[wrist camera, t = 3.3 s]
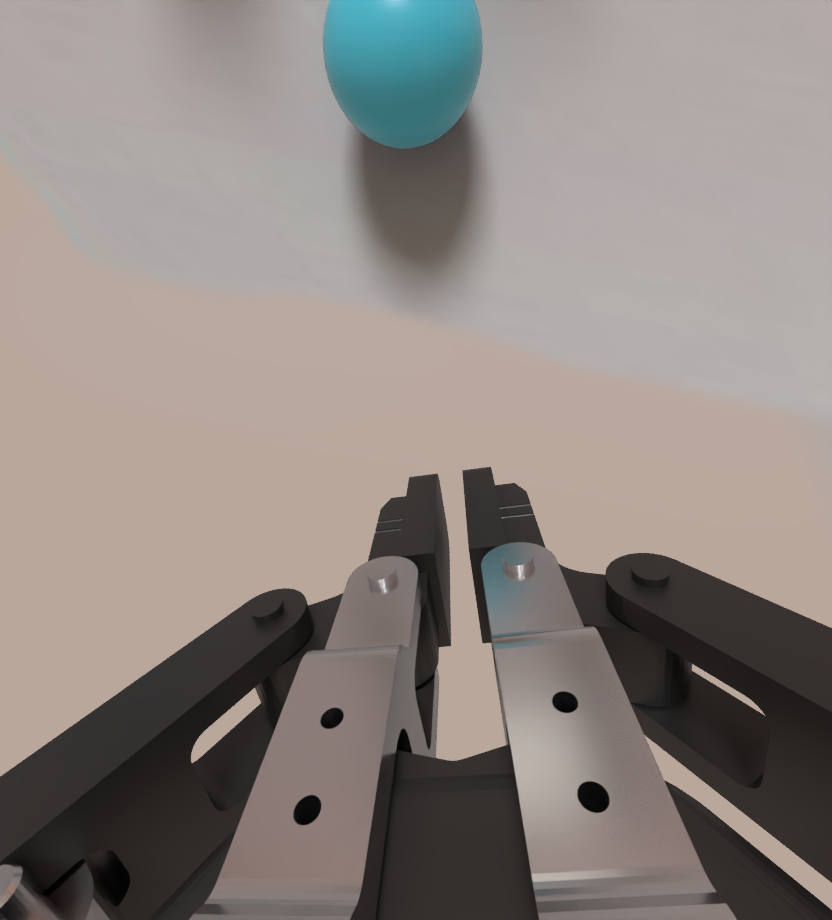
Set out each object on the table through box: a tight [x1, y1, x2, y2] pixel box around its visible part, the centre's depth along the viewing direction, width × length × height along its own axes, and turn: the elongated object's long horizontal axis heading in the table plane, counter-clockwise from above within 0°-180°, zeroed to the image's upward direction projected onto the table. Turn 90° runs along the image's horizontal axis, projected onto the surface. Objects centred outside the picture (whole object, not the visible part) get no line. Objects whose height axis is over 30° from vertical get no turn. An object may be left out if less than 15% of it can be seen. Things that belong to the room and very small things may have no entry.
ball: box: [323, 0, 482, 149], centre depth 18 cm, size 6×6×6 cm
